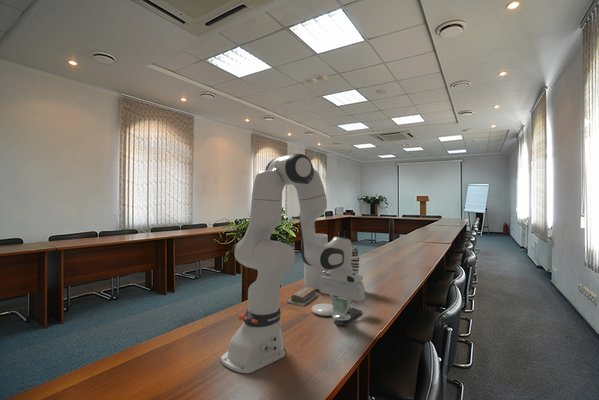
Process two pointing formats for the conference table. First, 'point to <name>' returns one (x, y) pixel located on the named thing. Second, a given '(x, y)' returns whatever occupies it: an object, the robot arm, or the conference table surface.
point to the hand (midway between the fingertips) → (340, 306)
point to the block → (339, 304)
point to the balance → (346, 316)
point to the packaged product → (302, 296)
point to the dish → (323, 309)
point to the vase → (314, 272)
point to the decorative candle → (355, 260)
